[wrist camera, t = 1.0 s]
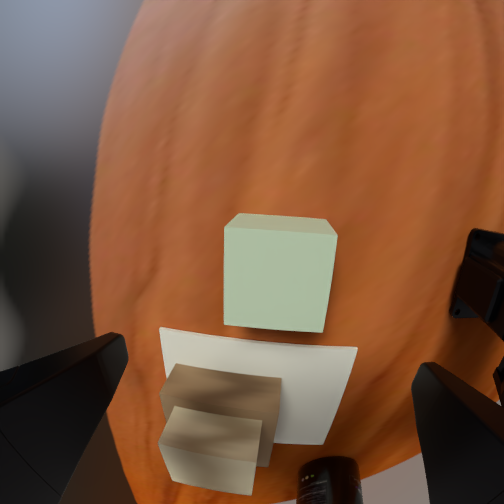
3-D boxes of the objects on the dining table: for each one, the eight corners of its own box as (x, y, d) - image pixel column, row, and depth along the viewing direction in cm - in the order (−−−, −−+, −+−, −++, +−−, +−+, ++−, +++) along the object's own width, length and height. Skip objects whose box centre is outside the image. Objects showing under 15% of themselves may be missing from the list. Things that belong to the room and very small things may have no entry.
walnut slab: (281, 377, 19) (279, 412, 16) (271, 437, 21) (268, 467, 18) (175, 363, 20) (159, 393, 16) (185, 424, 22) (174, 451, 19)
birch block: (262, 420, 16) (256, 462, 13) (256, 460, 18) (251, 495, 14) (174, 405, 17) (157, 443, 13) (184, 448, 18) (172, 480, 15)
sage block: (325, 219, 16) (337, 235, 12) (316, 297, 17) (322, 332, 13) (239, 212, 16) (224, 227, 12) (237, 291, 18) (223, 324, 14)
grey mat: (357, 346, 18) (357, 349, 18) (322, 442, 21) (322, 444, 21) (160, 326, 19) (159, 329, 19) (178, 425, 23) (177, 427, 23)
